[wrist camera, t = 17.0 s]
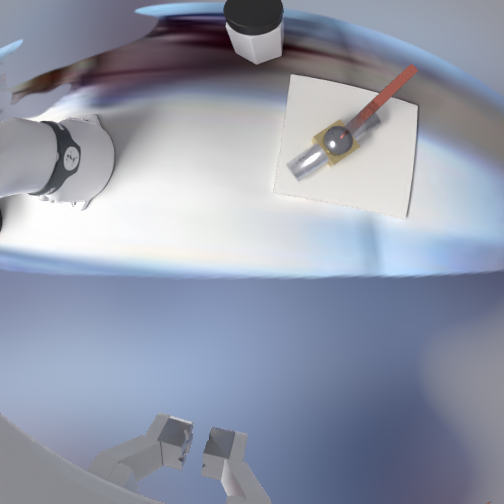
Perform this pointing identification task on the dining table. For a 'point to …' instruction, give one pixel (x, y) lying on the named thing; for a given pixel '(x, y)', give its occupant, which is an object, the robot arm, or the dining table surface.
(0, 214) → the french press
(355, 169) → the mounting plate
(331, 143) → the lever
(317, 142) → the valve body
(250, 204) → the dining table surface
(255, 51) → the jar
